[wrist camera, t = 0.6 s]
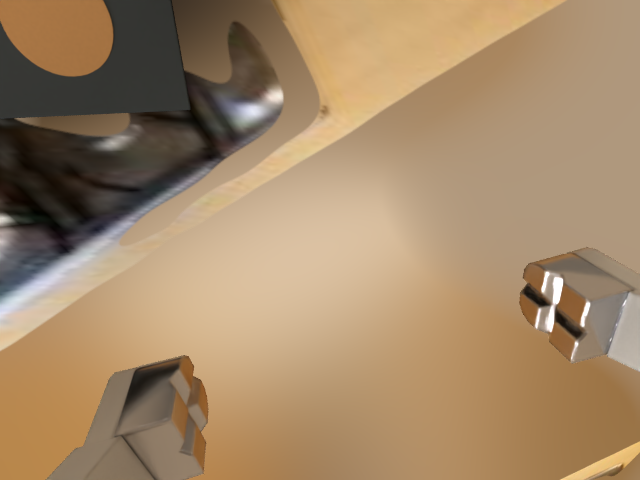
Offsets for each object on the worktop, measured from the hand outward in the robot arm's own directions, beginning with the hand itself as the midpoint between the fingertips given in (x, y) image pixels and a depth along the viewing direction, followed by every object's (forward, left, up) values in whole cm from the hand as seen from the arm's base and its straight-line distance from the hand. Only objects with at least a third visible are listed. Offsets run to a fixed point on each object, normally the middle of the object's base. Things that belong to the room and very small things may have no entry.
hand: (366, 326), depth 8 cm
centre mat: (-9, -18, -36) cm, 41 cm away
